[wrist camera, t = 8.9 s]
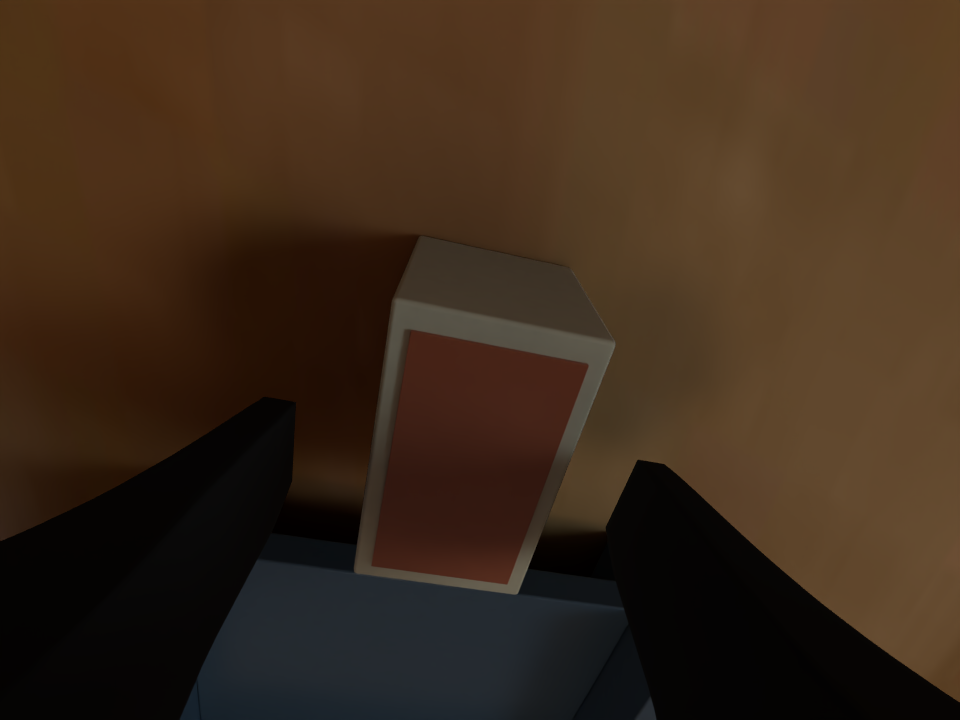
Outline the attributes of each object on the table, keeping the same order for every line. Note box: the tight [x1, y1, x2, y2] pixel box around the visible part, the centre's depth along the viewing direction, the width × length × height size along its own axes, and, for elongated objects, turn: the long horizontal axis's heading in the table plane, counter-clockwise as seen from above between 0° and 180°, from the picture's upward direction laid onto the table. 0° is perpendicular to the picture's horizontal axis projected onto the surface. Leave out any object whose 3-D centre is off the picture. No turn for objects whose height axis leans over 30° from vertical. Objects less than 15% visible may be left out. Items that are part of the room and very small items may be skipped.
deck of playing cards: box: [354, 236, 615, 595], centre depth 12 cm, size 4×7×5 cm, turn 167°
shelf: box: [180, 533, 656, 720], centre depth 16 cm, size 15×10×5 cm, turn 78°
